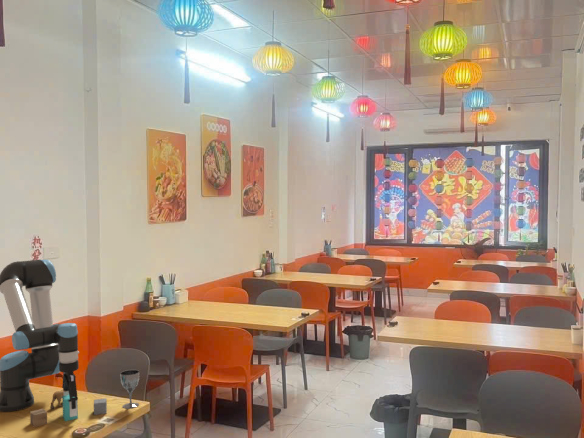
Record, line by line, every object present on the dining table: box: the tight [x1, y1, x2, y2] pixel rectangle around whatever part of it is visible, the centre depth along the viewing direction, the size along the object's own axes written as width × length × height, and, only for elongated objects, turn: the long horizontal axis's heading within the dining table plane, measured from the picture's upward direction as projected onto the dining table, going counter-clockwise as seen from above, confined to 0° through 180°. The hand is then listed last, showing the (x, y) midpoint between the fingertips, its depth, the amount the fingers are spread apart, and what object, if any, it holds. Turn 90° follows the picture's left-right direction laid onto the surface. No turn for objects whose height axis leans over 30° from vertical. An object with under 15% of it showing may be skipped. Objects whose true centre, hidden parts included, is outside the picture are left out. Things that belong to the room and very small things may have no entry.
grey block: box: [93, 397, 108, 416], centre depth 233 cm, size 5×5×5 cm
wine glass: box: [120, 369, 140, 410], centre depth 240 cm, size 8×8×15 cm
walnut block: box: [29, 408, 48, 428], centre depth 222 cm, size 5×5×5 cm
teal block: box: [61, 395, 79, 422], centre depth 227 cm, size 5×5×9 cm
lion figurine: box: [49, 389, 69, 410], centre depth 243 cm, size 15×5×9 cm, turn 171°
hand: (70, 411), depth 227 cm, fingers open, 13 cm apart
